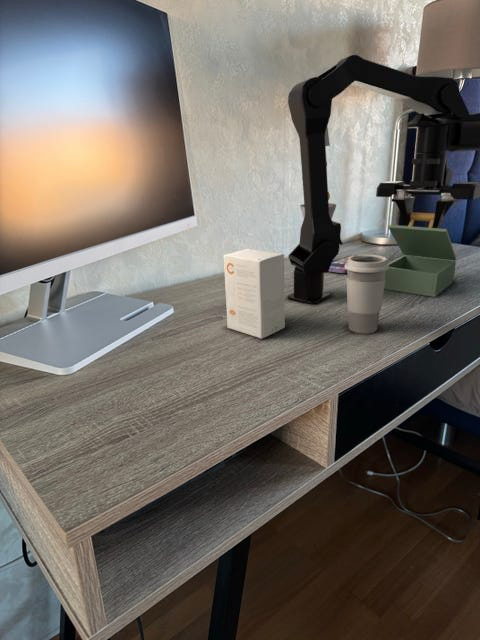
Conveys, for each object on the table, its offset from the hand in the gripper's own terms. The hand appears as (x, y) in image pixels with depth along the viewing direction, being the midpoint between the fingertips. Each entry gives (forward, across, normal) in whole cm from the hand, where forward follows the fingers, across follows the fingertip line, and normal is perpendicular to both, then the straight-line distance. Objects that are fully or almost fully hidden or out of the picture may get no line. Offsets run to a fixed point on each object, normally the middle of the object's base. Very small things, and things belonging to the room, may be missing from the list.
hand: (421, 233), depth 92 cm
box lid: (+3, 0, -1) cm, 3 cm away
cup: (+12, -1, +28) cm, 31 cm away
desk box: (+11, 0, -1) cm, 11 cm away
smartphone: (+11, +20, -8) cm, 24 cm away
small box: (+12, +14, +38) cm, 43 cm away
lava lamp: (+11, +28, -6) cm, 31 cm away
